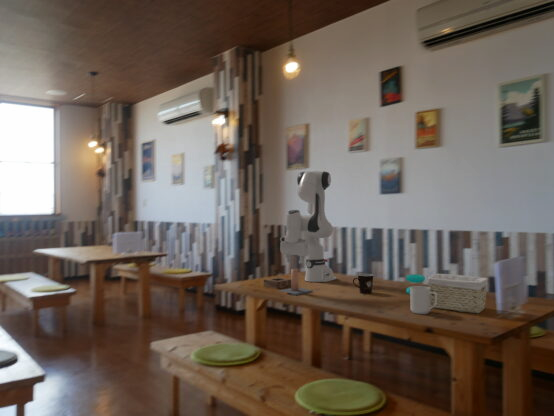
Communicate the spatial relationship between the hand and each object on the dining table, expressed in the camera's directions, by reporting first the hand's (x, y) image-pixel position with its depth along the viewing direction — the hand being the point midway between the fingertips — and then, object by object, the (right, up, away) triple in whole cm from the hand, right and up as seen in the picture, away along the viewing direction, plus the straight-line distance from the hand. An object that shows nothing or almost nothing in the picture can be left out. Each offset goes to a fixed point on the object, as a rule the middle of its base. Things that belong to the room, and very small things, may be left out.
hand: (294, 262), depth 257 cm
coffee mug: (+38, -16, -5) cm, 42 cm away
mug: (+57, -16, -53) cm, 79 cm away
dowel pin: (0, -16, 0) cm, 16 cm away
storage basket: (+75, -16, -46) cm, 89 cm away
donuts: (+66, -16, -10) cm, 69 cm away
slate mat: (0, -17, 0) cm, 17 cm away
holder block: (-10, -17, +14) cm, 24 cm away
